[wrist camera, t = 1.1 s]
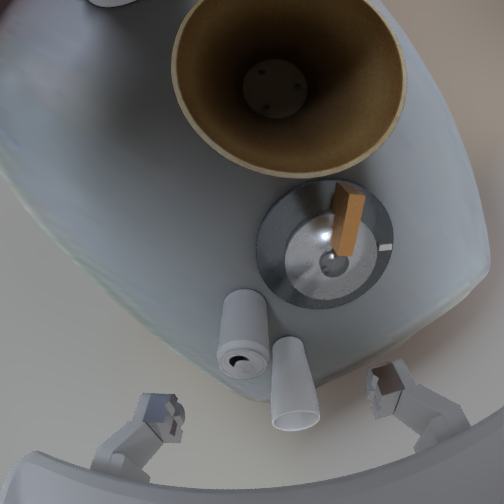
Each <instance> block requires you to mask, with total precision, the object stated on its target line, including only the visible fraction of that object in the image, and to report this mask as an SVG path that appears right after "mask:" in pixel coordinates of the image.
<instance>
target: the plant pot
mask: <svg viewBox="0 0 504 504" xmlns="http://www.w3.org/2000/svg"><path fill="white" fill-rule="evenodd" d="M259 71H262V74H260V72H259ZM171 76H172V83H173V88H174V91H175V95H176V98H177V101H178V103H179V105H180V107H181V110H182V112H183V114H184V115H185V117H186V119H187V120H188V122H189V123H190V125H191V126H192V128H193V129H194V130H195V131H196V132H197V134H198V135H199V136H200V137H201V138H202V139H203V140H204V141H205V142H206V143H207V144H208V145H209V146H211V147H212V148H213V149H214V150H216V151H217V152H218V153H219V154H221V155H222V156H224V157H225V158H227V159H229V160H231V161H232V162H234V163H236V164H238V165H240V166H243V167H245V168H247V169H250V170H252V171H255V172H259V173H262V174H266V175H270V176H276V177H282V178H299V179H304V178H316V177H322V176H326V175H330V174H334V173H337V172H340V171H343V170H345V169H348V168H350V167H353V166H354V165H356V164H358V163H360V162H361V161H363V160H364V159H366V158H367V157H369V156H370V155H371V154H373V153H374V152H375V151H376V150H377V149H378V148H379V147H380V146H381V145H382V144H383V143H384V142H385V141H386V139H387V138H388V137H389V136H390V134H391V133H392V131H393V130H394V128H395V126H396V124H397V122H398V120H399V118H400V115H401V113H402V110H403V107H404V103H405V98H406V91H407V72H406V65H405V60H404V56H403V52H402V49H401V46H400V44H399V42H398V39H397V37H396V35H395V33H394V31H393V30H392V28H391V26H390V25H389V23H388V22H387V20H386V19H385V18H384V16H383V15H382V14H381V13H380V12H379V10H378V9H377V8H376V7H375V6H374V5H373V4H372V3H371V2H370V1H369V0H199V1H198V2H197V3H196V4H195V5H194V6H193V7H192V8H191V10H190V11H189V12H188V14H187V15H186V17H185V18H184V20H183V22H182V24H181V26H180V27H179V30H178V32H177V35H176V38H175V42H174V45H173V50H172V58H171ZM296 84H297V85H299V87H295V85H296ZM268 105H269V108H268V109H266V106H268Z"/></svg>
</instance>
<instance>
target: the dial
mask: <svg viewBox="0 0 504 504" xmlns="http://www.w3.org/2000/svg"><path fill="white" fill-rule="evenodd" d="M364 201H365V195H364V194H363V193H361V192H360V191H359V190H358V189H357V188H355V187H354V186H353V185H352V184H350V183H343V182H336V186H335V192H334V198H333V204H332V209H331V210H324V211H319V212H317V213H314V214H312V215H310V216H308V217H306V218H305V219H303V220H302V221H301V222H300V223H299V224H297V226H296V227H295V228H294V229H293V230H292V232H291V233H290V235H289V237H288V239H287V241H286V244H285V248H284V263H285V269H286V273H287V276H288V278H289V280H290V282H291V284H292V285H293V286H294V287H295V288H296V289H297V290H298V291H299V292H301V293H302V294H304V295H306V296H308V297H311V298H314V299H321V300H330V299H336V298H340V297H343V296H345V295H348V294H350V293H352V292H353V291H355V290H356V289H357V288H359V287H360V286H361V285H362V284H363V283H364V282H365V281H366V280H367V279H368V277H369V276H370V274H371V273H372V271H373V269H374V266H375V263H376V259H377V245H376V241H375V238H374V236H373V234H372V232H371V231H370V230H369V228H368V227H367V226H366V225H365V224H364V223H363V221H361V216H362V211H363V206H364Z"/></svg>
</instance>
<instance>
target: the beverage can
mask: <svg viewBox="0 0 504 504" xmlns="http://www.w3.org/2000/svg"><path fill="white" fill-rule="evenodd" d="M216 357H217V361H218V362H219V368H220V370H221V371H222V372H223V373H224V374H226V375H228V376H230V377H232V378H236V379H251V378H255V377H258V376H260V375H261V374H262V373H264V371H265V370H266V368H267V364H268V362H269V359H270V353H269V335H268V318H267V304H266V301H265V299H264V298H263V296H262V295H261V294H259V293H258V292H256V291H253V290H249V289H240V290H236V291H233V292H231V293H230V294H229V295H228V296H227V297H226V298H225V300H224V302H223V309H222V316H221V324H220V331H219V339H218V346H217V354H216Z"/></svg>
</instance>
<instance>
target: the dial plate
mask: <svg viewBox="0 0 504 504" xmlns="http://www.w3.org/2000/svg"><path fill="white" fill-rule="evenodd" d="M336 182H343V183H350V184H352V185H353V186H354V187H355V188H357V189H358V190H359V191H360V192H361V193H363V194H364V195H365V201H364V206H363V211H362V216H361V221H363V223H364V224H365V225H366V226H367V227H368V228H369V230H370V231H371V232H372V234H373V236H374V238H375V241H376V245H377V259H376V263H375V266H374V269H373V271H372V273H371V274H370V276H369V277H368V279H367V280H366V281H365V282H364V283H363V284H362V285H361V286H360V287H359V288H357V289H356V290H355V291H353V292H352V293H350V294H348V295H345V296H343V297H340V298H336V299H330V300H321V299H314V298H311V297H308V296H306V295H304V294H302V293H301V292H299V291H298V290H297V289H296V288H295V287H294V286H293V285H292V284H291V282H290V280H289V278H288V276H287V273H286V269H285V263H284V248H285V244H286V241H287V239H288V237H289V235H290V233H291V232H292V230H293V229H294V228H295V227H296V226H297V224H299V223H300V222H301V221H302V220H303V219H305V218H306V217H308V216H310V215H312V214H314V213H317V212H319V211H324V210H331V209H332V204H333V198H334V192H335V186H336ZM392 248H393V228H392V223H391V220H390V217H389V215H388V213H387V211H386V209H385V207H384V206H383V205H382V203H381V202H380V201H379V200H378V199H377V198H376V197H375V196H374V195H373V194H372V193H370V192H369V191H368V190H366V189H365V188H363V187H362V186H360V185H358V184H355V183H353V182H350V181H346V180H341V179H319V180H314V181H310V182H306V183H304V184H301V185H299V186H297V187H295V188H293V189H292V190H290V191H288V192H287V193H286V194H284V195H283V196H282V197H280V198H279V199H278V200H277V201H276V202H275V203H274V204H273V206H272V207H271V208H270V209H269V211H268V212H267V214H266V215H265V217H264V219H263V221H262V223H261V226H260V228H259V231H258V235H257V242H256V260H257V265H258V269H259V272H260V274H261V276H262V278H263V280H264V282H265V283H266V285H267V286H268V287H269V289H270V290H271V291H272V292H273V293H274V294H276V295H277V296H278V297H279V298H281V299H283V300H284V301H286V302H288V303H290V304H293V305H295V306H299V307H303V308H309V309H326V308H332V307H336V306H340V305H343V304H345V303H348V302H350V301H352V300H354V299H356V298H358V297H359V296H361V295H362V294H364V293H365V292H366V291H367V290H369V289H370V288H371V287H372V286H373V285H374V284H375V283H376V282H377V280H378V279H379V278H380V277H381V275H382V274H383V272H384V270H385V269H386V267H387V264H388V262H389V260H390V257H391V254H392Z"/></svg>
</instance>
